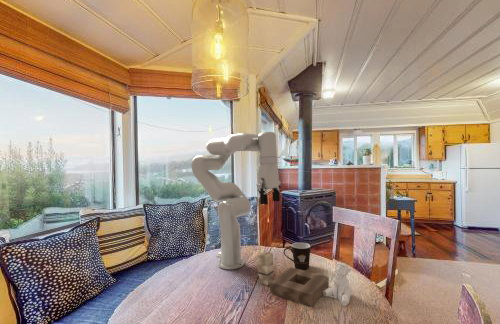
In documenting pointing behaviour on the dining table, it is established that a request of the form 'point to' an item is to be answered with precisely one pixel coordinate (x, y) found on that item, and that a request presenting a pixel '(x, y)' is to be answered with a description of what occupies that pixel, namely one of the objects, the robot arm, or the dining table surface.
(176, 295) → the dining table surface
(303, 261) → the coffee mug
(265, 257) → the birch peg
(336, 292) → the sitting furry creature
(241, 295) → the dining table surface
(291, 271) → the walnut board
